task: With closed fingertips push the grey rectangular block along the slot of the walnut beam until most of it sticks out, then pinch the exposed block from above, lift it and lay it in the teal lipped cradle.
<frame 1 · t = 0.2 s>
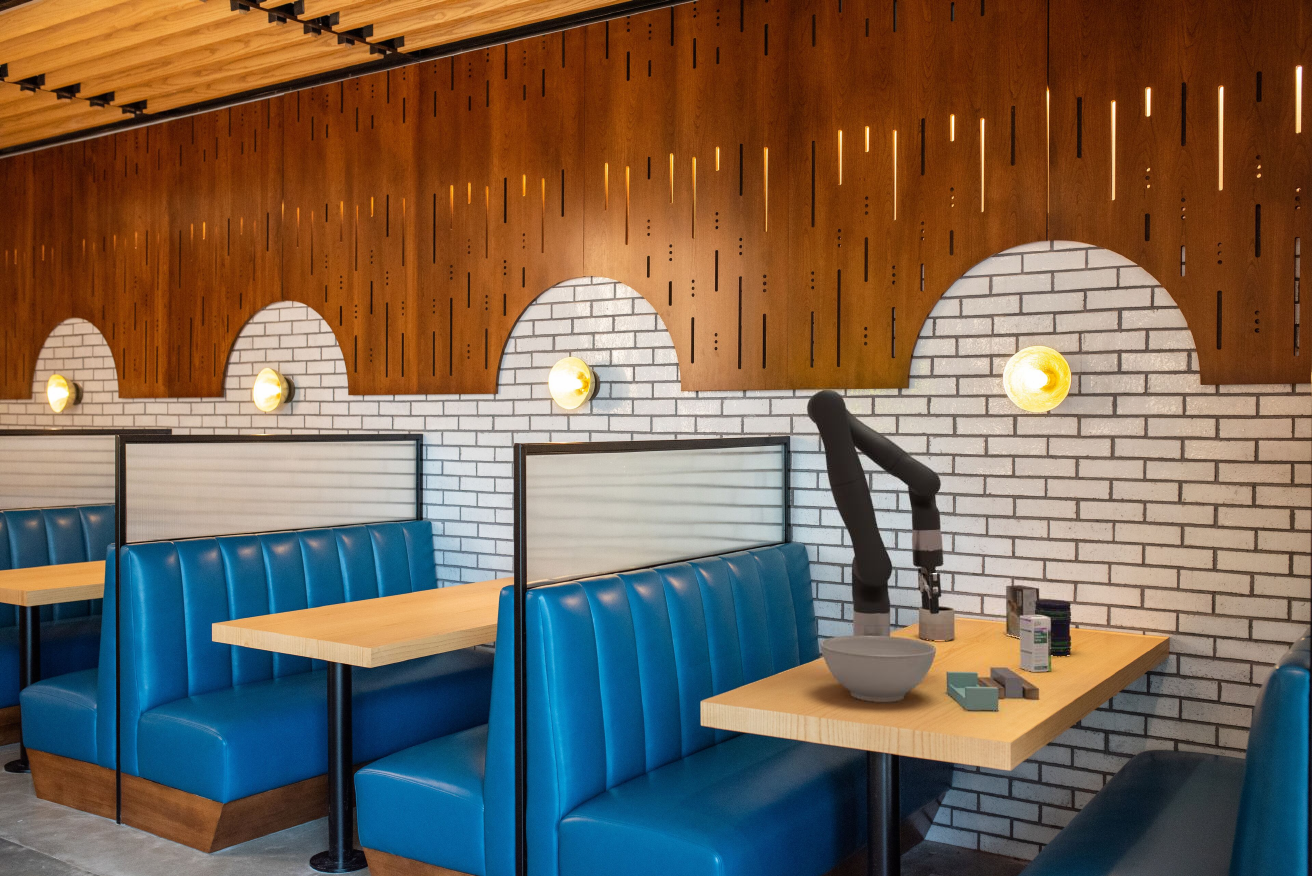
hand: (930, 611, 262), 17 cm above the table, tool pointing down, fingers open, 8 cm apart
cradle: (971, 701, 239), on the table
syrup box: (1035, 671, 275), on the table
planter: (936, 639, 323), on the table
grey rectangular block: (1006, 693, 249), on the table
slotted beam: (1007, 693, 248), on the table
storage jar: (1052, 654, 299), on the table
coffee box: (1022, 638, 326), on the table
decorative bowl: (877, 697, 244), on the table
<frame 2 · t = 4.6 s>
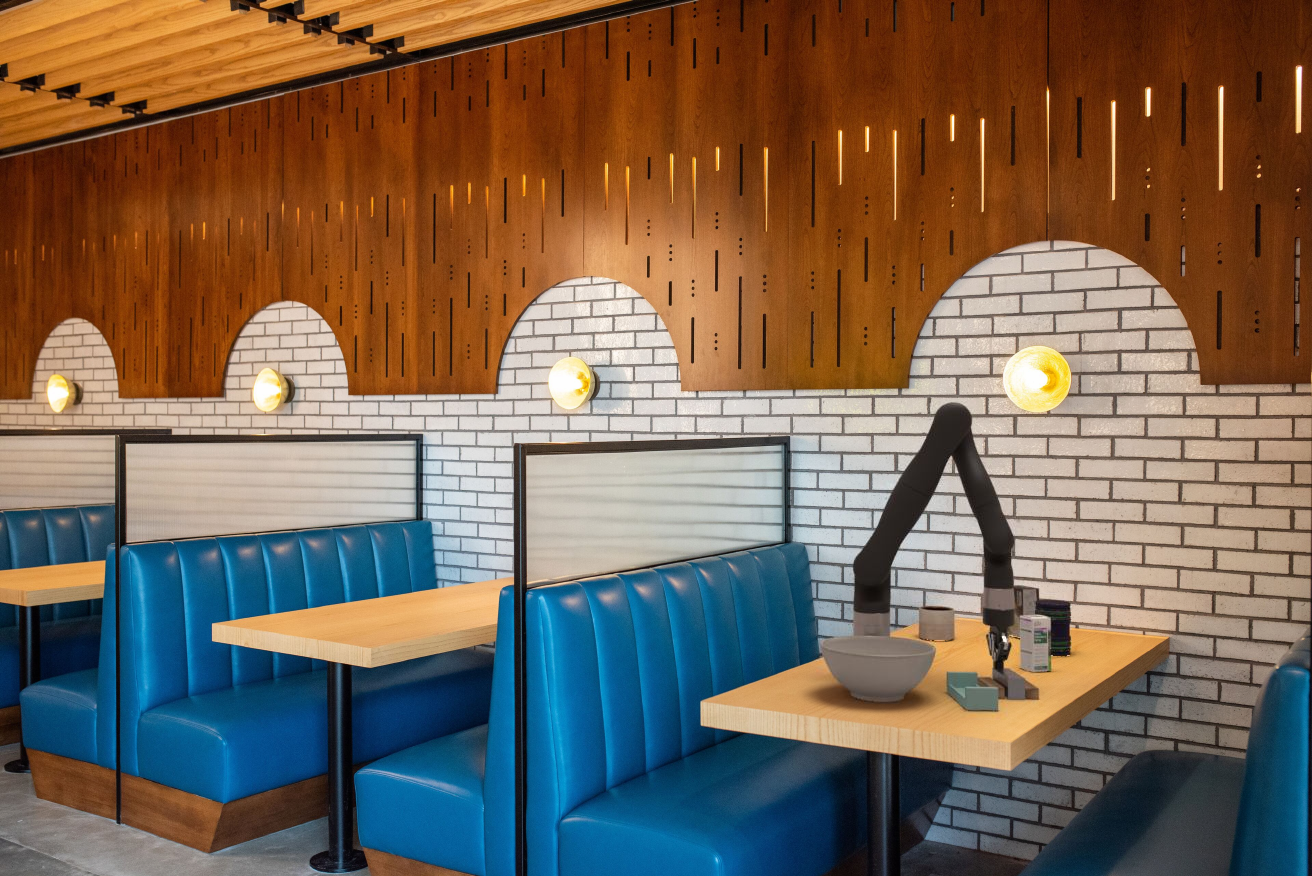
hand: (998, 675, 255), 3 cm above the table, tool pointing down, fingers closed
grey rectangular block: (1008, 694, 247), on the table, touching gripper
everything else where it was.
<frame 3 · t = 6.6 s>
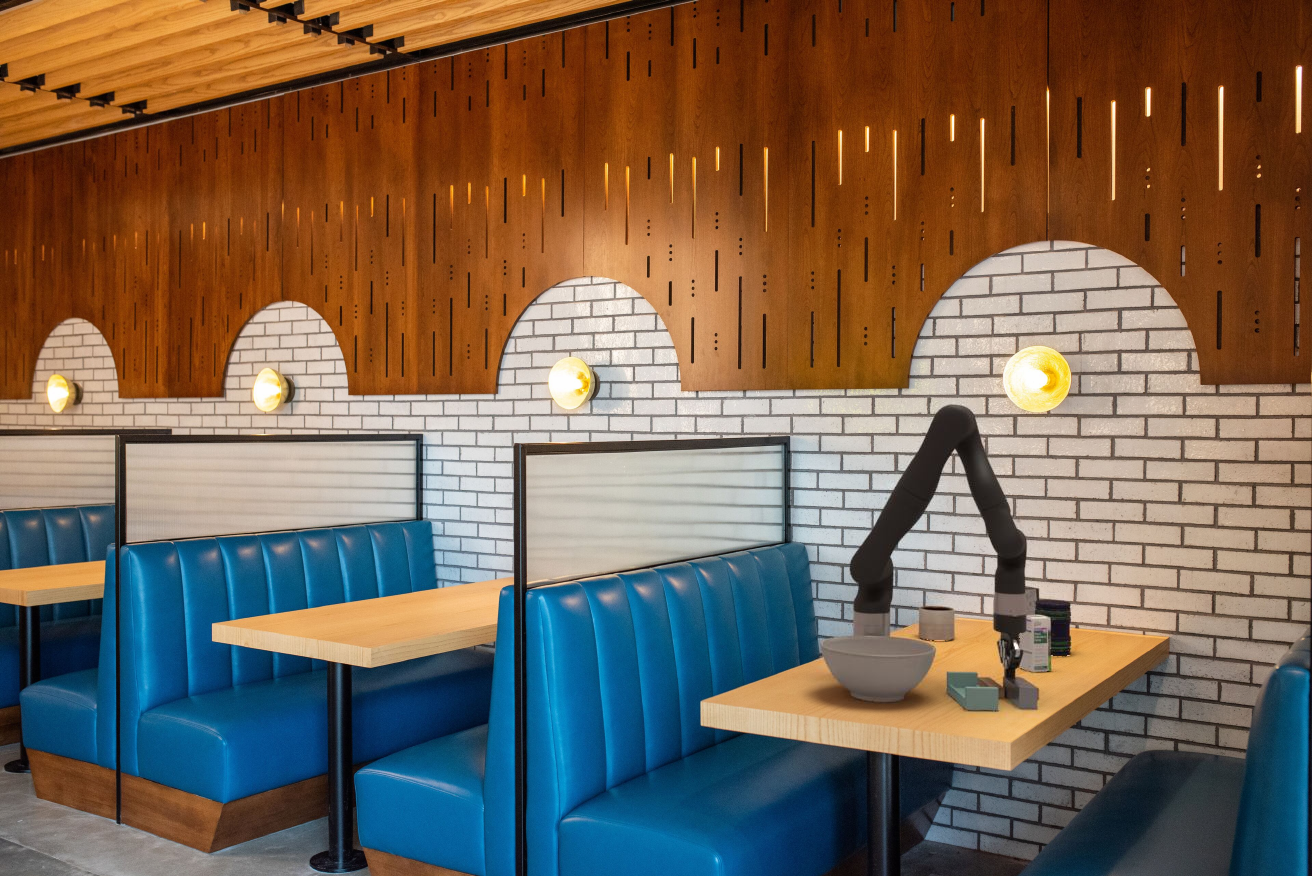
hand: (1009, 684, 246), 3 cm above the table, tool pointing down, fingers closed
grey rectangular block: (1019, 703, 238), on the table, touching gripper
everything else where it was.
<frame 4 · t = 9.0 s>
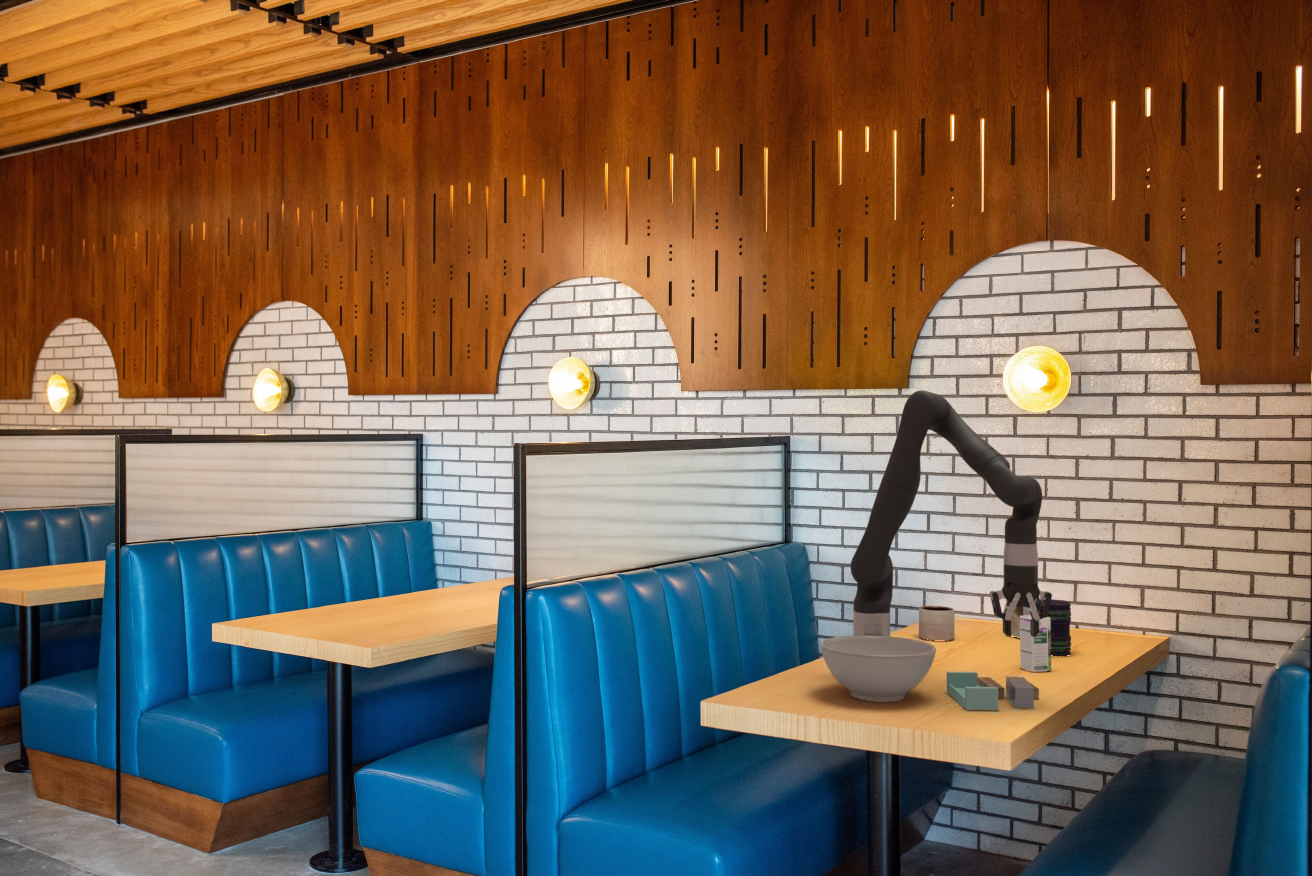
hand: (1020, 636, 238), 15 cm above the table, tool pointing down, fingers open, 5 cm apart
grey rectangular block: (1019, 703, 238), on the table
everything else where it was.
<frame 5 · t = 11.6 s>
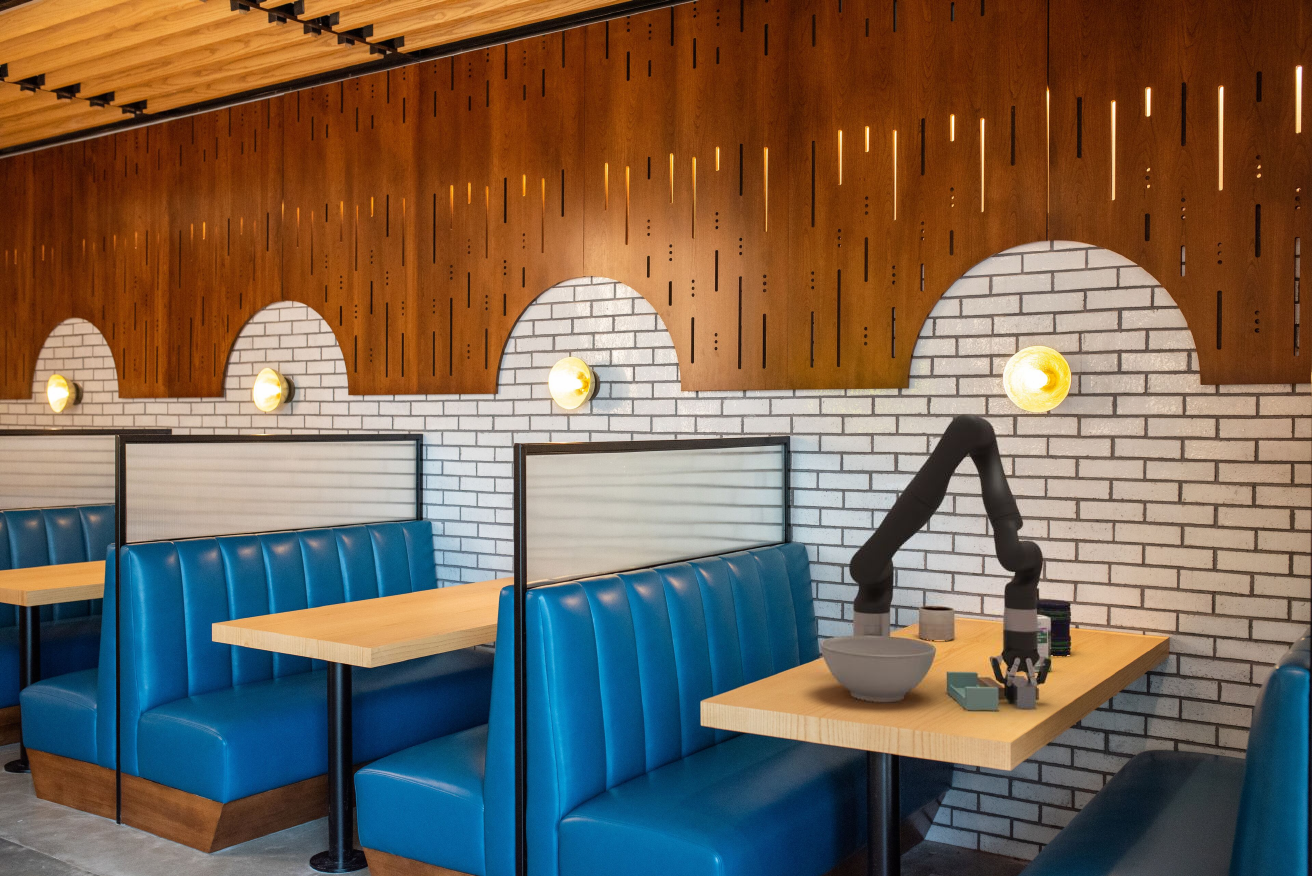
hand: (1020, 701, 238), 0 cm above the table, tool pointing down, fingers closed on grey rectangular block, 4 cm apart
grey rectangular block: (1020, 703, 238), on the table, touching gripper
everything else where it was.
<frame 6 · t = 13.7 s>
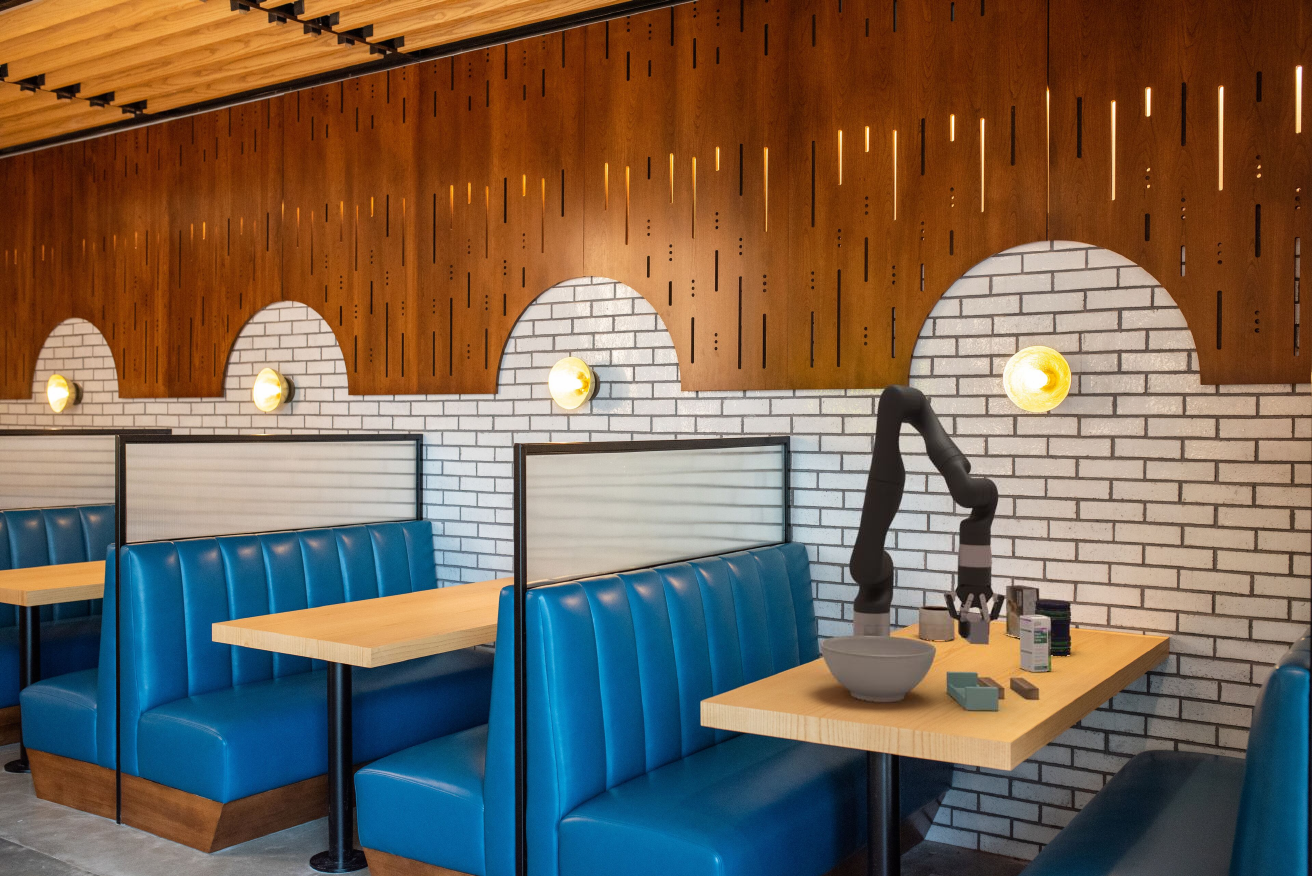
hand: (973, 637, 239), 15 cm above the table, tool pointing down, fingers closed on grey rectangular block, 4 cm apart
grey rectangular block: (973, 639, 239), point 14 cm above the table, touching gripper
everything else where it was.
when the fingers open (3 cm above the table, at t = 16.4 s): grey rectangular block drops 1 cm, resting on cradle.
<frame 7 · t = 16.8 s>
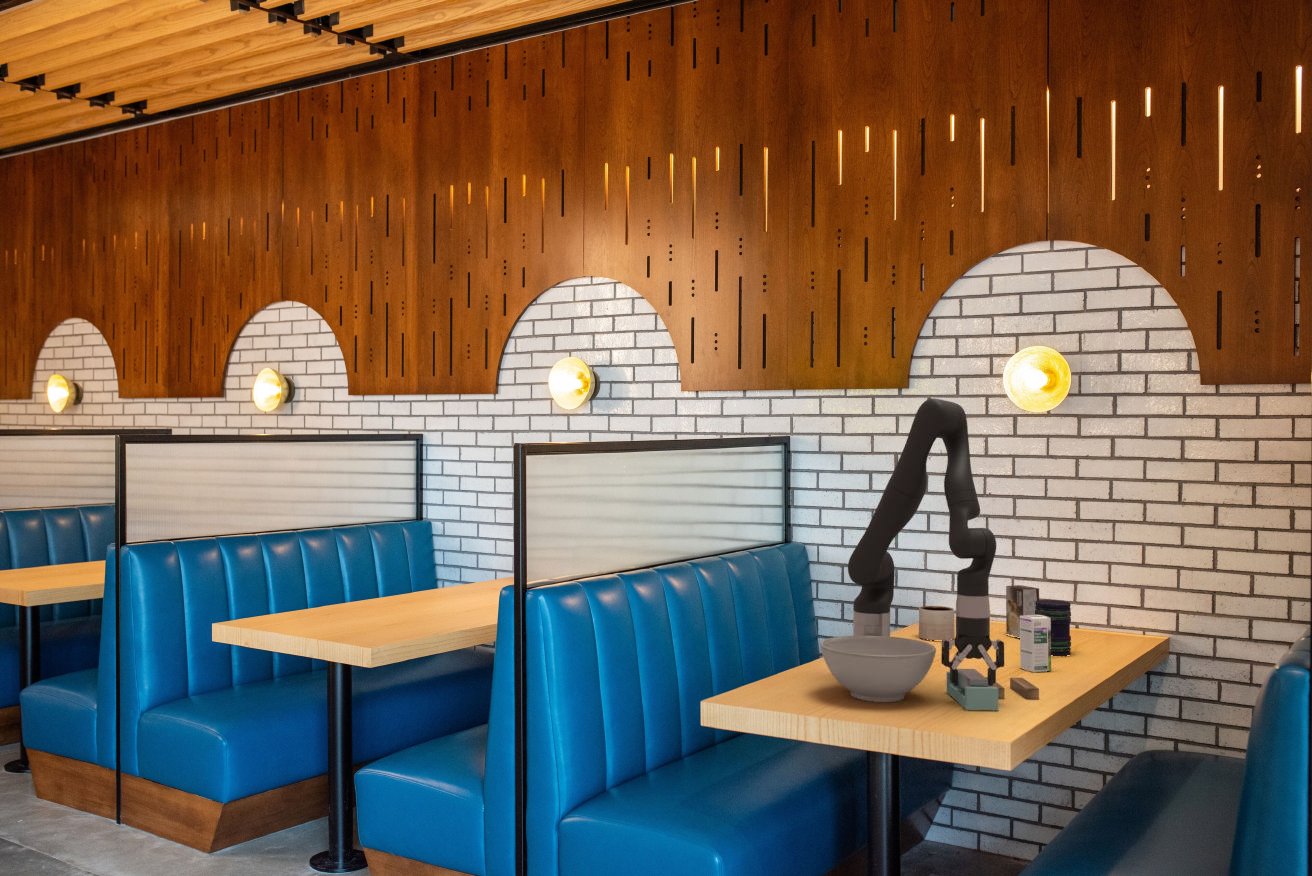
hand: (972, 685, 238), 4 cm above the table, tool pointing down, fingers open, 7 cm apart
grey rectangular block: (972, 695, 238), point 1 cm above the table, touching cradle
everything else where it was.
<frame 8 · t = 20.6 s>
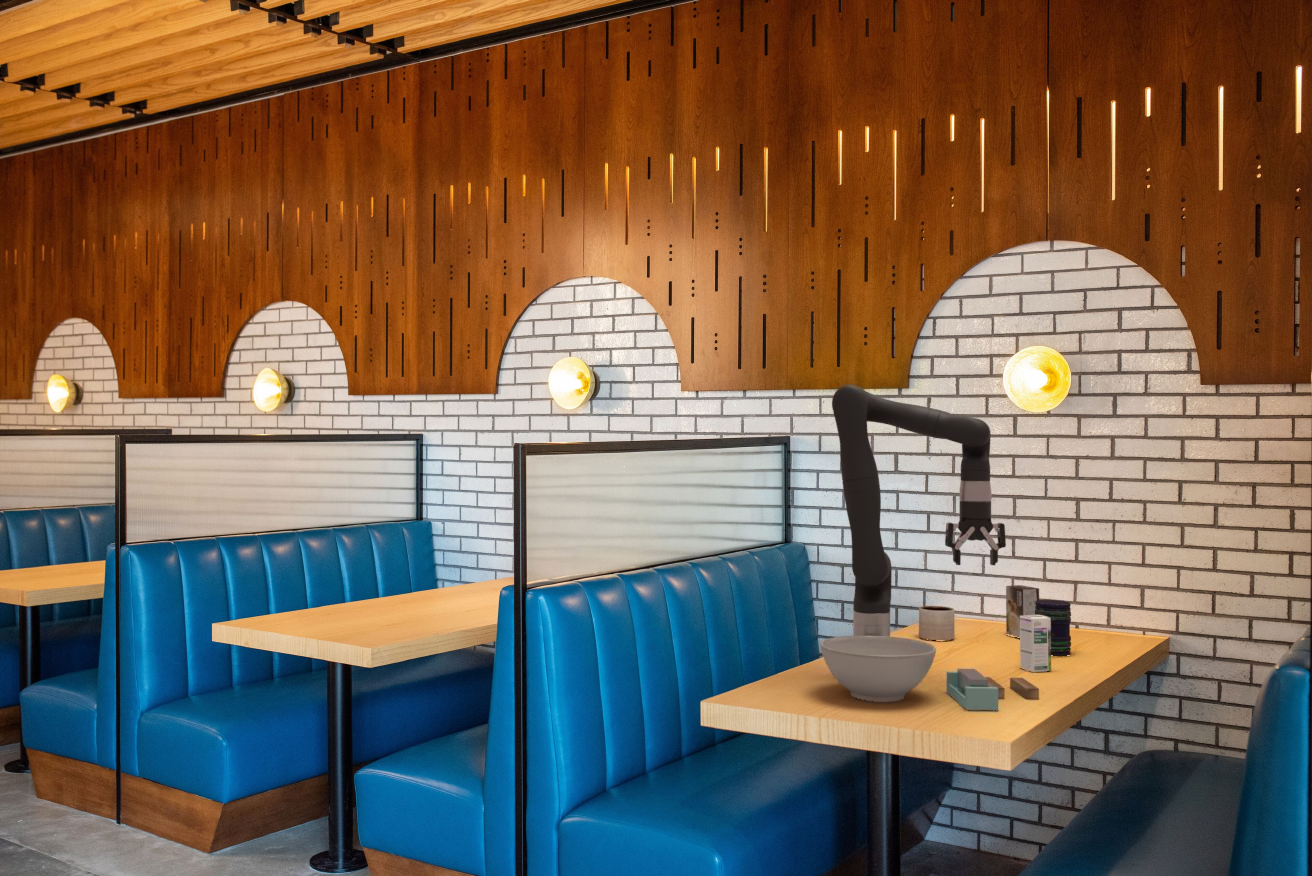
hand: (975, 565, 254), 30 cm above the table, tool pointing down, fingers open, 8 cm apart
nothing on the table moved.
at the end: grey rectangular block 0.9 cm off-centre on the cradle, point 1.5 cm above the cradle's base; grey rectangular block tilted 0°; the gripper is holding nothing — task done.
